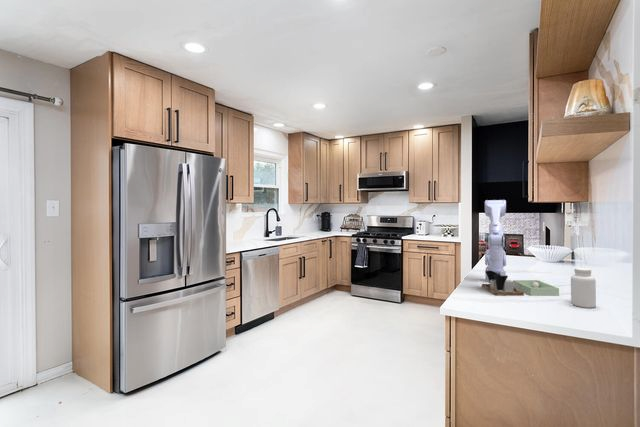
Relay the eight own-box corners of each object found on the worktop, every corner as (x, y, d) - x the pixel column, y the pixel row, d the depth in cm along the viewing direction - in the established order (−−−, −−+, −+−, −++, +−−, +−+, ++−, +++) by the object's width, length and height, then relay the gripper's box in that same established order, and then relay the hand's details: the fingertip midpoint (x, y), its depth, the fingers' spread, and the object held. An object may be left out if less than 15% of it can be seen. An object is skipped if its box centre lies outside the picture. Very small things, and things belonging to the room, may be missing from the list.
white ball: (530, 287, 161) (530, 281, 161) (537, 287, 161) (537, 281, 161) (534, 288, 158) (534, 282, 158) (540, 288, 158) (540, 282, 158)
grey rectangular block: (490, 290, 158) (489, 279, 158) (498, 290, 158) (498, 279, 158) (493, 292, 154) (493, 281, 154) (502, 292, 154) (502, 281, 154)
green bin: (512, 288, 163) (512, 280, 163) (538, 288, 162) (538, 280, 162) (530, 296, 147) (530, 288, 147) (559, 297, 146) (559, 288, 146)
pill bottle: (569, 301, 140) (569, 266, 139) (593, 304, 135) (593, 268, 135) (572, 306, 133) (572, 269, 132) (597, 309, 129) (597, 271, 128)
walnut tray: (481, 287, 164) (481, 283, 164) (506, 288, 163) (506, 284, 163) (496, 296, 148) (496, 292, 148) (523, 296, 147) (523, 292, 147)
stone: (500, 290, 158) (500, 279, 158) (509, 290, 158) (509, 279, 157) (504, 292, 154) (504, 281, 154) (513, 292, 154) (513, 281, 153)
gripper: (481, 257, 163) (481, 284, 164) (494, 262, 149) (494, 291, 149) (495, 257, 163) (495, 284, 163) (510, 262, 148) (510, 291, 149)
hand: (496, 287), depth 156 cm, fingers open, 7 cm apart
